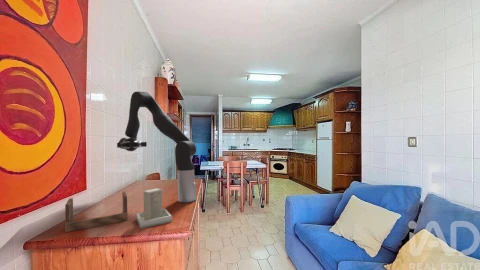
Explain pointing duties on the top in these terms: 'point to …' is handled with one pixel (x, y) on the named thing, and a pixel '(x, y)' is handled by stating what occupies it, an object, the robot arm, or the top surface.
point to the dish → (157, 221)
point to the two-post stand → (94, 221)
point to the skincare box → (152, 204)
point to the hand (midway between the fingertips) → (133, 144)
